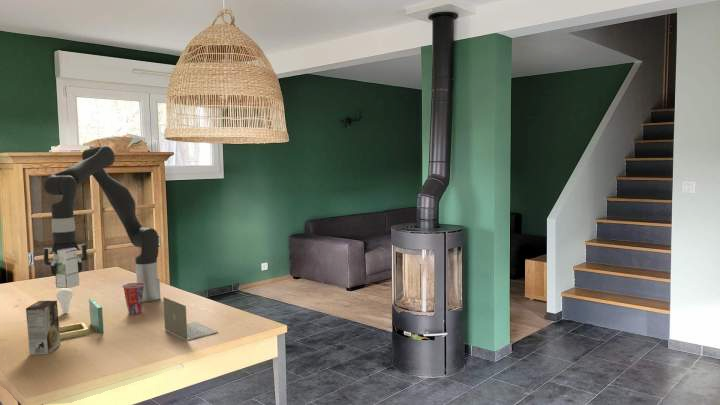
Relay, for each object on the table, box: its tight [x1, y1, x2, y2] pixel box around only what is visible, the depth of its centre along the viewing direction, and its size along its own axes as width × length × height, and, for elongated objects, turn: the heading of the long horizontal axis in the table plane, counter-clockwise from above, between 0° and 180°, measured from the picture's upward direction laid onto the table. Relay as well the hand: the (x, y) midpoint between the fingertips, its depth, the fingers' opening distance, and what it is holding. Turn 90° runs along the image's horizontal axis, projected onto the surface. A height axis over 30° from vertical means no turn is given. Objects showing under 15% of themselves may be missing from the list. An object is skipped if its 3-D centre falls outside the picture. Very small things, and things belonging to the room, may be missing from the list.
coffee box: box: [25, 300, 61, 356], centre depth 186 cm, size 9×6×16 cm
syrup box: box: [52, 248, 80, 289], centre depth 202 cm, size 6×6×14 cm
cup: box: [122, 282, 144, 316], centre depth 229 cm, size 9×8×12 cm
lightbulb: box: [55, 288, 74, 314], centre depth 231 cm, size 6×6×11 cm
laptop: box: [163, 296, 219, 342], centre depth 203 cm, size 18×12×13 cm
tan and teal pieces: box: [59, 298, 104, 341], centre depth 205 cm, size 15×16×10 cm
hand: (66, 273), depth 202 cm, fingers closed on syrup box, 7 cm apart
